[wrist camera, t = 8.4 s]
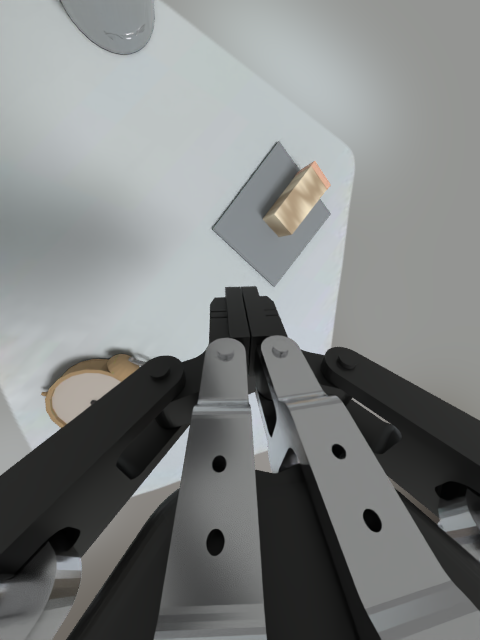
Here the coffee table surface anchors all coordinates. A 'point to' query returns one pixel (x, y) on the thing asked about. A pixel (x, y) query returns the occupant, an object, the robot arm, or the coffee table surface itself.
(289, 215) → the birch block
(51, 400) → the alarm clock
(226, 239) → the rubber mat
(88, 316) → the coffee table surface
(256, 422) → the coffee table surface
